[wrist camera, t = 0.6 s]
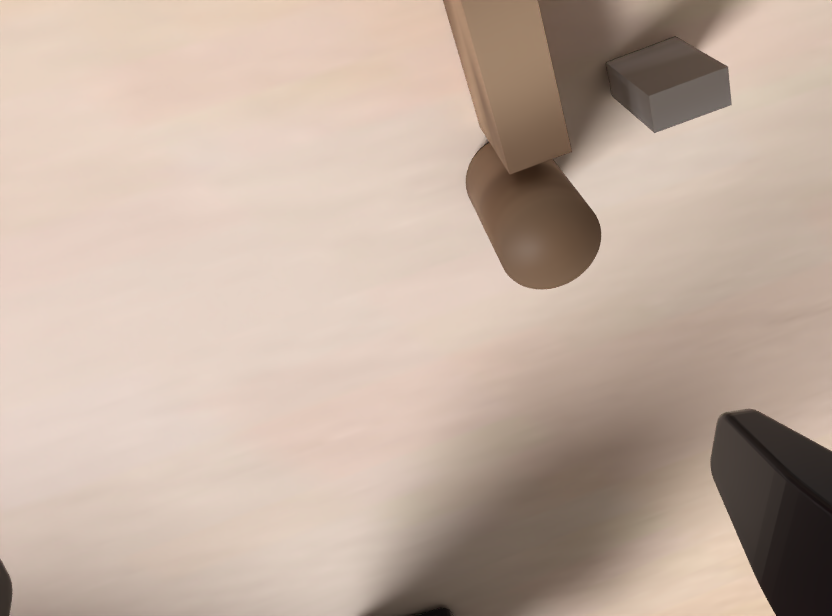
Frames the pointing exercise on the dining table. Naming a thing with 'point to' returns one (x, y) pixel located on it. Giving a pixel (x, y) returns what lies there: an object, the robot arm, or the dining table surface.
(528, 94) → the fence
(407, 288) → the dining table surface
